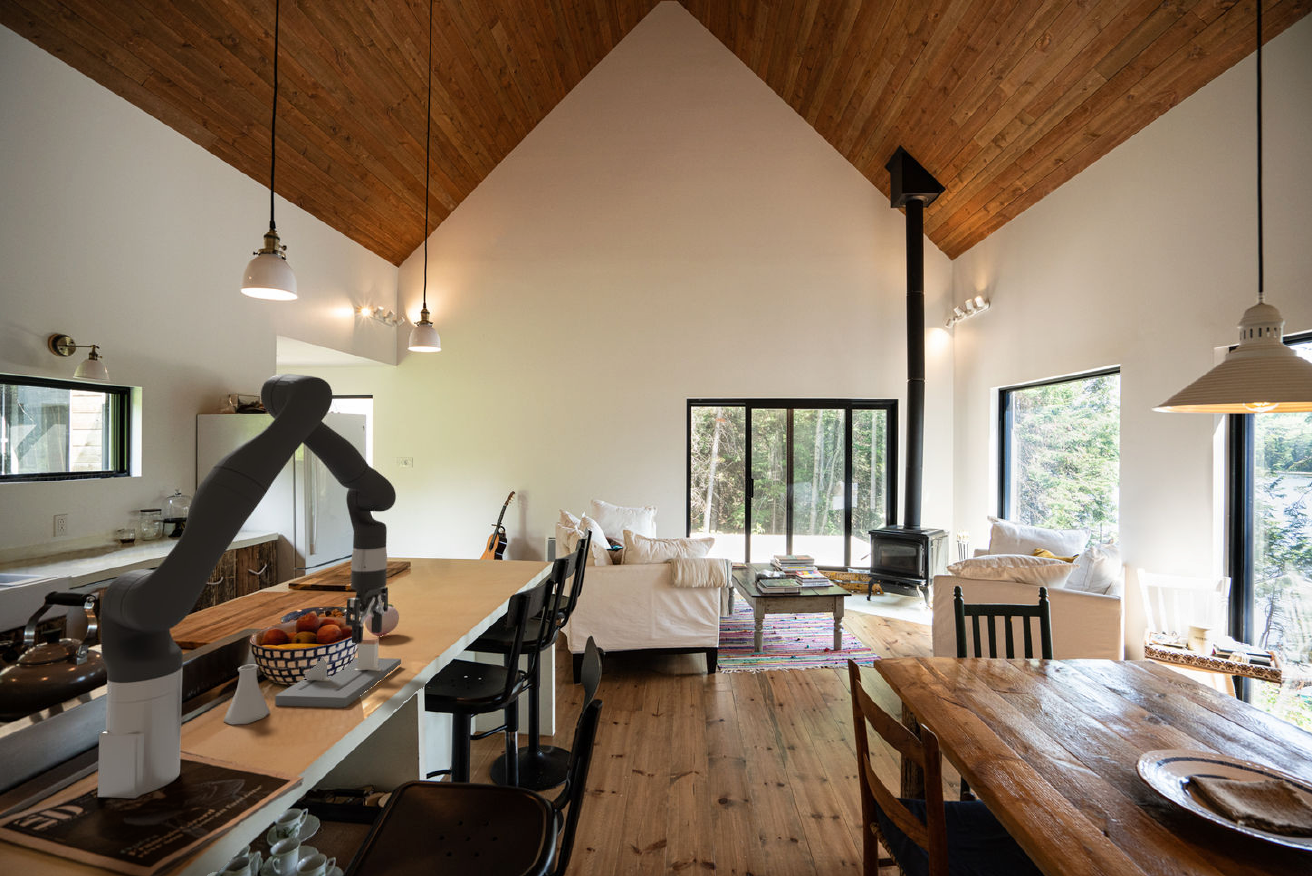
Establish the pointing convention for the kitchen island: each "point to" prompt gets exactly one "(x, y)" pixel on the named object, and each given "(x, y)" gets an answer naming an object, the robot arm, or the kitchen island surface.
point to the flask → (247, 698)
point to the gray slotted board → (336, 686)
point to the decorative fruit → (384, 621)
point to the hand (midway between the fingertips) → (367, 637)
